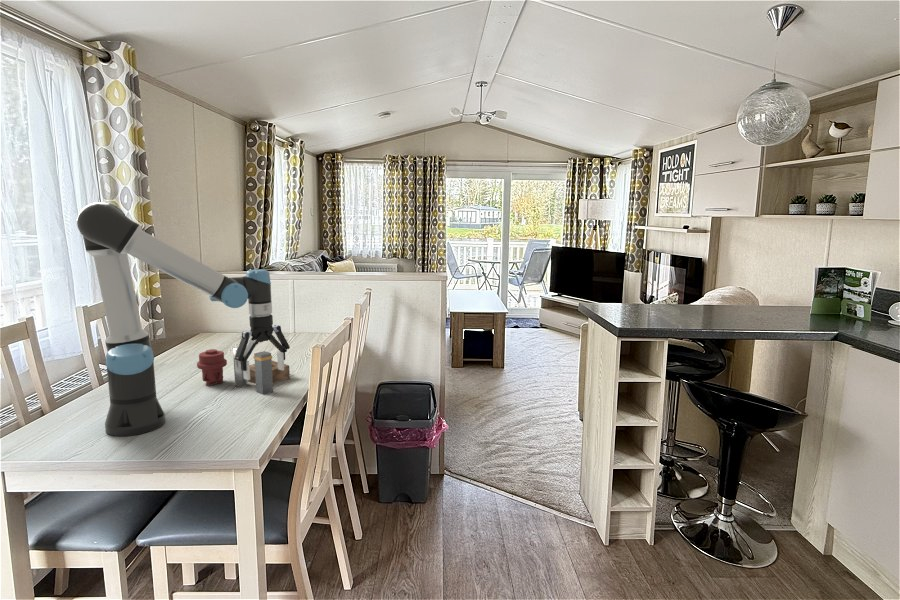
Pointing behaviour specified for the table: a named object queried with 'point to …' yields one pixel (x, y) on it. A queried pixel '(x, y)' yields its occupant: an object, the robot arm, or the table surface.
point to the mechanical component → (212, 366)
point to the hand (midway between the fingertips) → (264, 374)
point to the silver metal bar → (238, 371)
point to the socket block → (276, 373)
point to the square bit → (263, 372)
